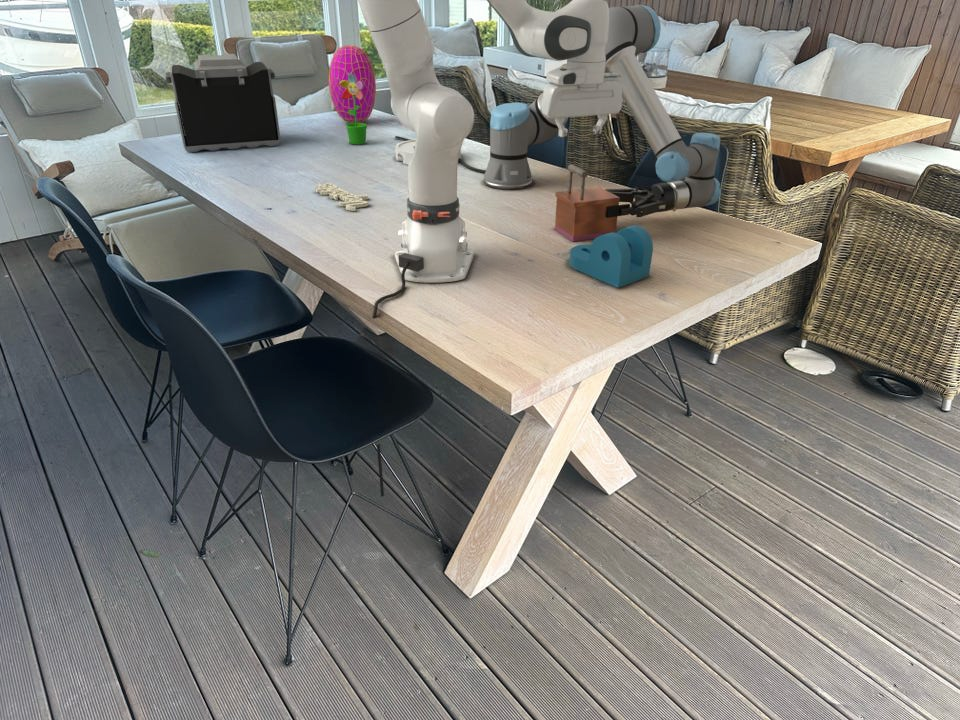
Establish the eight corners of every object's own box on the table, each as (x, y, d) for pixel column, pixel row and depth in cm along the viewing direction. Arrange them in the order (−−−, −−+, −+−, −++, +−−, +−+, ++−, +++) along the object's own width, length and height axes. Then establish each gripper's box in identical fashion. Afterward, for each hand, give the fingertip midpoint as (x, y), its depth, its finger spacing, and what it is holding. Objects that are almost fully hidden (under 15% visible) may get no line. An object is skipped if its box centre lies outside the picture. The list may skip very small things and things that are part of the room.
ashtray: (454, 167, 232) (454, 155, 230) (388, 164, 235) (387, 152, 233) (466, 151, 252) (466, 140, 250) (404, 148, 255) (404, 137, 253)
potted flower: (342, 144, 260) (336, 73, 247) (351, 139, 266) (346, 70, 254) (365, 146, 257) (360, 74, 245) (374, 141, 264) (369, 71, 251)
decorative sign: (381, 201, 196) (350, 208, 191) (381, 205, 197) (350, 211, 192) (338, 180, 214) (308, 186, 209) (338, 183, 215) (308, 189, 209)
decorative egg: (362, 116, 305) (357, 42, 290) (386, 123, 292) (382, 46, 277) (324, 121, 294) (316, 45, 279) (347, 129, 281) (340, 49, 266)
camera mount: (649, 276, 155) (655, 231, 150) (618, 287, 149) (623, 242, 144) (590, 252, 167) (594, 210, 162) (559, 262, 161) (562, 219, 156)
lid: (574, 207, 169) (576, 174, 165) (555, 196, 177) (557, 164, 173) (619, 201, 174) (623, 168, 170) (599, 190, 181) (602, 159, 177)
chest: (573, 241, 174) (575, 207, 169) (554, 229, 182) (556, 196, 177) (615, 235, 178) (619, 201, 174) (595, 223, 186) (599, 190, 182)
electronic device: (278, 133, 274) (267, 51, 259) (285, 146, 256) (274, 59, 241) (180, 140, 262) (162, 54, 247) (180, 153, 244) (161, 62, 229)
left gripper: (616, 69, 165) (609, 129, 172) (540, 73, 158) (536, 135, 165) (630, 73, 160) (623, 134, 167) (553, 77, 153) (549, 141, 160)
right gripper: (691, 223, 178) (618, 234, 171) (641, 198, 196) (573, 207, 188) (696, 194, 174) (621, 204, 167) (645, 172, 192) (575, 180, 184)
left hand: (580, 135), depth 166 cm, fingers open, 8 cm apart
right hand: (596, 206), depth 178 cm, fingers closed on chest, 10 cm apart
